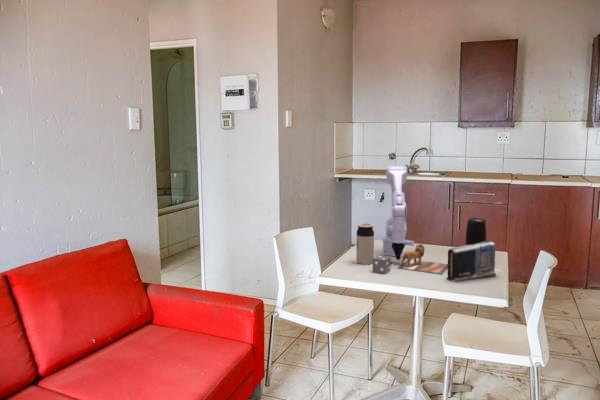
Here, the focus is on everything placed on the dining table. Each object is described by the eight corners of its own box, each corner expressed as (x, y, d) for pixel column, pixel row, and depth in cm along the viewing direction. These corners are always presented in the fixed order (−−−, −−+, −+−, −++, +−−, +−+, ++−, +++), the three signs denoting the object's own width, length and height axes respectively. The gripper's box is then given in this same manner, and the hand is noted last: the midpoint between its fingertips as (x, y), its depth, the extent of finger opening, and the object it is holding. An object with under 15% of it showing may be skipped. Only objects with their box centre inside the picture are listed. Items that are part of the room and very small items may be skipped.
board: (396, 268, 225) (397, 267, 225) (408, 259, 240) (408, 259, 240) (441, 274, 215) (441, 274, 215) (451, 265, 230) (451, 264, 230)
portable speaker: (488, 259, 239) (490, 219, 236) (477, 262, 233) (479, 221, 230) (472, 255, 246) (474, 216, 243) (461, 259, 240) (463, 218, 237)
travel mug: (374, 260, 238) (374, 223, 236) (372, 265, 231) (373, 226, 228) (357, 259, 240) (357, 222, 237) (355, 264, 232) (355, 226, 230)
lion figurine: (417, 261, 236) (418, 242, 235) (427, 263, 232) (427, 244, 231) (397, 266, 227) (397, 247, 226) (406, 269, 223) (407, 249, 222)
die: (372, 272, 220) (372, 258, 219) (377, 268, 225) (377, 255, 224) (385, 273, 217) (386, 260, 216) (390, 270, 222) (390, 257, 221)
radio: (449, 282, 205) (451, 246, 203) (439, 276, 213) (440, 242, 211) (499, 278, 210) (501, 243, 208) (487, 272, 219) (489, 238, 217)
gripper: (380, 230, 231) (380, 259, 233) (411, 233, 224) (410, 263, 226) (386, 227, 238) (385, 255, 240) (416, 230, 230) (415, 259, 232)
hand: (398, 259), depth 233 cm, fingers closed
